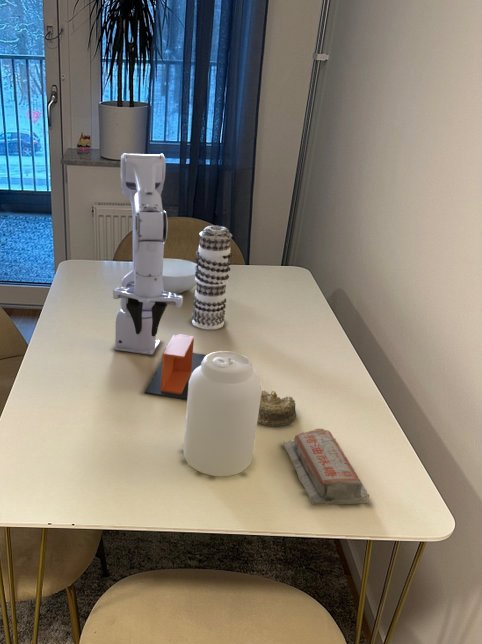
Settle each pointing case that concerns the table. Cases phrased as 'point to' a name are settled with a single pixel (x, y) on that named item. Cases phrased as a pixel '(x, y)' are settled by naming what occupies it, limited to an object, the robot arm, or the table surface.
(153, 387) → the mat
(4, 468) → the table surface
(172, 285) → the cereal bowl
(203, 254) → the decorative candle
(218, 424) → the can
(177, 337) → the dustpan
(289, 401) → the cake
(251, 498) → the table surface
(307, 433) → the packaged product
